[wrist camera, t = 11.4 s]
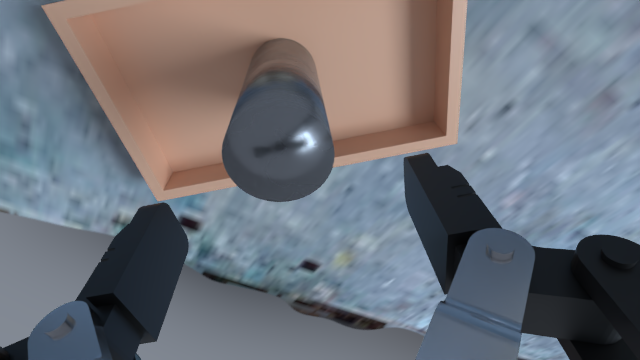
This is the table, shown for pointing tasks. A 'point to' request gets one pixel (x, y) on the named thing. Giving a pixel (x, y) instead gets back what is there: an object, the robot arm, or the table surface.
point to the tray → (232, 65)
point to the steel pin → (279, 126)
